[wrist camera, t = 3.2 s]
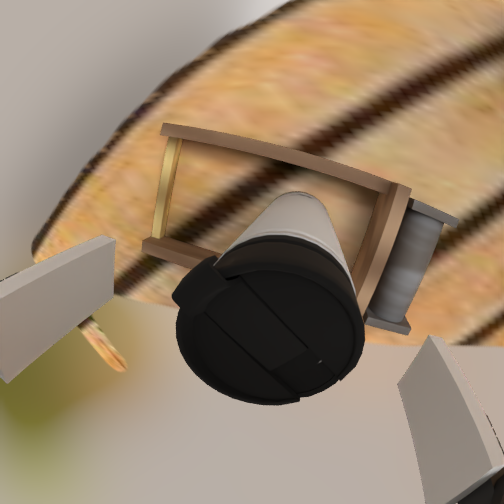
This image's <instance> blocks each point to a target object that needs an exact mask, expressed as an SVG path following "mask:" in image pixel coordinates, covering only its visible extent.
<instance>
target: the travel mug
mask: <svg viewBox="0 0 504 504" xmlns="http://www.w3.org/2000/svg"><path fill="white" fill-rule="evenodd" d="M172 299H173V300H174V302H175V303H176V304H177V305H178V306H179V307H180V309H179V312H178V316H177V320H176V338H177V342H178V346H179V349H180V352H181V354H182V356H183V358H184V359H185V361H186V363H187V364H188V366H189V367H190V368H191V370H192V371H193V372H194V373H195V374H196V375H197V376H198V377H199V378H200V379H201V380H202V381H204V382H205V383H206V384H207V385H209V386H210V387H212V388H213V389H215V390H217V391H218V392H220V393H222V394H224V395H227V396H229V397H231V398H234V399H237V400H240V401H244V402H247V403H253V404H259V405H284V404H289V403H294V402H299V401H300V397H309V396H312V395H314V394H317V393H319V392H322V391H324V390H325V389H327V388H329V387H330V386H332V385H334V384H335V383H336V382H337V381H338V380H340V381H341V380H342V379H343V378H344V377H345V376H346V375H347V374H348V373H349V372H350V371H351V370H353V368H355V367H356V365H357V363H358V361H359V358H360V357H361V354H362V351H363V346H364V342H365V329H364V322H363V319H362V315H361V312H360V309H359V305H358V302H357V299H356V291H355V287H354V284H353V281H352V278H351V275H350V272H349V269H348V266H347V264H346V261H345V258H344V255H343V252H342V249H341V247H340V244H339V241H338V238H337V236H336V233H335V230H334V228H333V225H332V223H331V220H330V217H329V215H328V212H327V210H326V208H325V207H324V205H323V204H322V203H321V202H320V201H319V200H318V199H317V198H315V197H314V196H312V195H310V194H308V193H304V192H289V193H285V194H283V195H281V196H279V197H278V198H276V199H275V200H274V201H273V202H272V203H271V204H270V205H269V206H268V207H267V208H266V209H265V210H264V211H263V212H262V213H261V214H260V215H259V217H258V218H257V219H256V220H255V221H254V222H253V223H252V224H251V225H250V226H249V227H248V228H247V229H246V230H245V231H244V232H243V233H242V234H241V235H240V236H239V237H238V238H237V239H236V240H235V241H234V242H233V244H232V245H231V246H230V247H229V248H228V249H227V250H226V251H225V252H224V253H223V254H222V255H221V256H220V257H219V258H217V257H216V255H213V256H211V257H208V258H205V259H204V260H203V261H201V262H200V263H199V264H198V265H196V266H195V267H194V268H193V269H192V270H191V271H190V272H189V273H188V274H187V275H186V276H185V277H184V278H183V279H182V280H181V282H180V283H179V285H178V286H177V288H176V289H175V291H174V292H173V294H172Z"/></svg>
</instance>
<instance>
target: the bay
mask: <svg viewBox="0 0 504 504" xmlns="http://www.w3.org/2000/svg"><path fill="white" fill-rule="evenodd" d="M160 135H163V136H169V138H168V143H167V148H166V152H165V157H164V162H163V167H162V172H161V178H160V183H159V189H158V195H157V201H156V207H155V214H154V221H153V228H152V235H151V237H149V238H147V239H145V240H143V242H142V251H141V252H144V253H147V254H150V255H152V256H155V257H158V258H161V259H164V260H167V261H169V262H172V263H175V264H178V265H181V266H184V267H187V268H190V269H193V268H194V267H195V266H196V265H198V264H199V263H200V262H201V261H203V260H204V259H205V258H208V257H211V256H213V255H216V257H217V258H219V257H220V256H221V255H222V254H220V253H216V252H213V251H210V250H207V249H204V248H201V247H197V246H194V245H191V244H188V243H185V242H182V241H178V240H175V239H172V238H169V237H166V236H165V230H166V223H167V217H168V211H169V205H170V199H171V194H172V188H173V183H174V178H175V173H176V168H177V163H178V158H179V154H180V149H181V145H182V140H183V139H187V140H192V141H198V142H203V143H208V144H213V145H218V146H222V147H227V148H231V149H236V150H240V151H245V152H249V153H253V154H257V155H261V156H265V157H269V158H273V159H276V160H280V161H284V162H288V163H291V164H295V165H298V166H302V167H305V168H308V169H312V170H315V171H318V172H322V173H325V174H328V175H331V176H334V177H337V178H340V179H343V180H346V181H349V182H352V183H355V184H358V185H361V186H364V187H367V188H369V189H372V190H375V191H378V192H379V195H378V198H377V201H376V204H375V208H374V211H373V214H372V217H371V220H370V223H369V226H368V229H367V232H366V234H365V237H364V240H363V243H362V246H361V248H360V251H359V254H358V256H357V259H356V262H355V264H354V267H353V270H352V272H351V278H352V281H353V284H354V287H355V291H356V299H357V302H358V305H359V309H360V312H361V315H362V317H363V320H364V324H366V325H369V326H373V327H377V328H380V329H384V330H388V331H392V332H396V333H400V334H404V335H408V334H409V332H410V330H411V327H410V325H409V323H408V321H407V319H406V317H405V314H406V312H407V310H408V308H409V306H410V304H411V302H412V300H413V298H414V296H415V294H416V292H417V289H418V287H419V285H420V283H421V281H422V278H423V276H424V274H425V271H426V269H427V267H428V264H429V262H430V259H431V257H432V254H433V252H434V249H435V247H436V244H437V241H438V239H439V236H440V233H441V230H442V227H443V225H444V223H446V224H448V225H450V226H452V227H455V228H456V227H457V224H458V221H459V219H457V218H455V217H453V216H451V215H449V214H446V213H444V212H442V211H440V210H438V209H435V208H433V207H431V206H429V205H426V204H424V203H422V202H419V201H417V200H415V199H412V198H409V197H410V193H411V190H412V189H411V188H408V187H406V186H404V185H401V184H398V183H394V182H391V181H388V180H386V179H383V178H380V177H378V176H375V175H372V174H369V173H367V172H364V171H361V170H358V169H355V168H352V167H349V166H347V165H344V164H340V163H337V162H334V161H331V160H328V159H325V158H322V157H318V156H315V155H312V154H308V153H305V152H301V151H298V150H294V149H290V148H287V147H283V146H279V145H275V144H271V143H267V142H263V141H259V140H255V139H250V138H246V137H241V136H237V135H232V134H227V133H222V132H217V131H212V130H206V129H201V128H195V127H189V126H182V125H176V124H169V123H163V125H162V129H161V133H160Z"/></svg>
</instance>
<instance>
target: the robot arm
mask: <svg viewBox="0 0 504 504" xmlns="http://www.w3.org/2000/svg"><path fill="white" fill-rule="evenodd" d="M115 244H116V240H115V239H113V238H110V237H107V236H104V235H100V236H98V237H95V238H93V239H91V240H88V241H86V242H84V243H81V244H79V245H77V246H74V247H72V248H70V249H68V250H65V251H63V252H61V253H59V254H56V255H54V256H52V257H50V258H48V259H46V260H44V261H41V262H39V263H37V264H35V265H33V266H31V267H29V268H27V269H25V270H23V271H21V272H18V273H15V274H13V275H11V276H9V277H7V278H6V279H5V280H4V279H3V280H1V281H0V377H1V378H2V379H3V380H4V381H5V382H6V383H9V382H10V381H11V380H12V379H13V378H14V377H16V376H17V375H18V374H19V373H20V372H21V371H22V370H24V369H25V368H26V367H27V366H28V365H30V364H31V363H32V362H33V361H34V360H35V359H37V358H38V357H39V356H40V355H41V354H43V353H44V352H45V351H46V350H47V349H49V348H50V347H51V346H52V345H54V344H55V343H56V342H57V341H58V340H60V339H61V338H62V337H63V336H65V335H66V334H67V333H68V332H70V331H71V330H72V329H73V328H75V327H76V326H77V325H78V324H80V323H81V322H82V321H83V320H85V319H86V318H87V317H89V316H90V315H91V314H92V313H94V312H95V311H96V310H98V309H99V308H100V307H102V306H103V305H104V304H105V303H107V302H108V301H109V300H111V299H112V298H113V289H114V260H115ZM397 385H398V388H399V391H400V395H401V398H402V401H403V405H404V408H405V412H406V415H407V419H408V423H409V427H410V430H411V435H412V438H413V442H414V447H415V451H416V455H417V460H418V465H419V470H420V475H421V480H422V485H423V491H424V497H425V503H426V504H456V503H458V504H504V452H503V449H502V447H501V445H500V442H499V440H498V438H497V437H496V433H495V431H494V429H492V424H491V422H490V420H489V418H488V416H487V415H486V414H485V412H484V410H483V408H482V406H481V404H480V402H479V400H478V398H477V397H476V395H475V393H474V391H473V389H472V387H471V385H470V384H469V382H468V380H467V378H466V376H465V375H464V373H463V371H462V369H461V368H460V366H459V364H458V363H457V361H456V359H455V358H454V356H453V354H452V353H451V351H450V349H449V348H448V346H447V345H446V343H445V341H444V340H443V338H441V337H437V336H433V335H428V337H427V339H426V341H425V342H424V344H423V346H422V347H421V349H420V351H419V352H418V354H417V356H416V357H415V359H414V360H413V362H412V363H411V365H410V366H409V368H408V370H407V371H406V373H405V374H404V375H403V377H402V378H401V380H400V381H399V383H398V384H397Z"/></svg>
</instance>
